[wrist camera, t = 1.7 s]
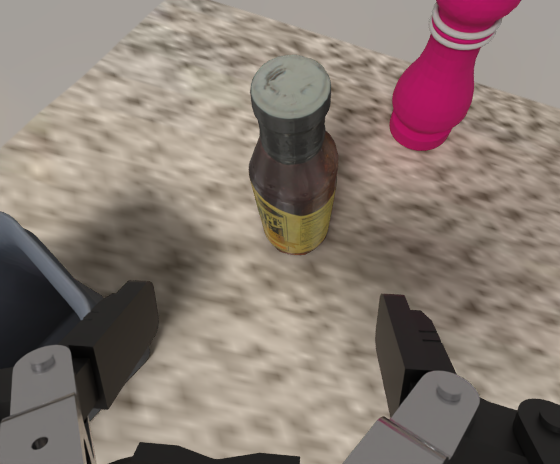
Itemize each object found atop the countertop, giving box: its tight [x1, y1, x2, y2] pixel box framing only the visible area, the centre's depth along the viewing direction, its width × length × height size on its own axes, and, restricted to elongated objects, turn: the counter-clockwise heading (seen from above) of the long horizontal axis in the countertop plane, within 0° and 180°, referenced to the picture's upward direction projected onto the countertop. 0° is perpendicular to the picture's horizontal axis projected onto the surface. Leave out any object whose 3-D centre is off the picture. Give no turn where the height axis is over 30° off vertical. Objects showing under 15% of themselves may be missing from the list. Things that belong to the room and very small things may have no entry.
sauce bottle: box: [249, 55, 338, 255], centre depth 27 cm, size 7×6×20 cm
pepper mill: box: [390, 0, 521, 151], centre depth 31 cm, size 7×7×20 cm
